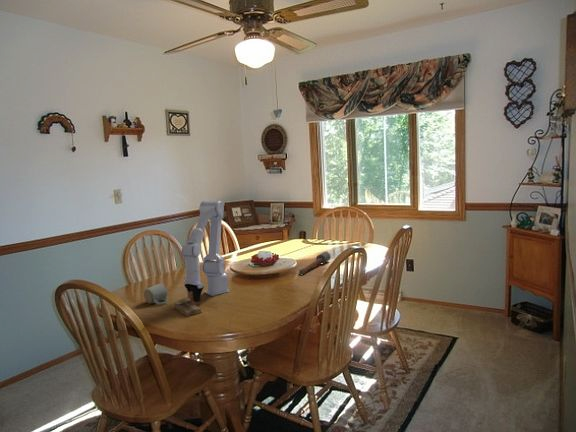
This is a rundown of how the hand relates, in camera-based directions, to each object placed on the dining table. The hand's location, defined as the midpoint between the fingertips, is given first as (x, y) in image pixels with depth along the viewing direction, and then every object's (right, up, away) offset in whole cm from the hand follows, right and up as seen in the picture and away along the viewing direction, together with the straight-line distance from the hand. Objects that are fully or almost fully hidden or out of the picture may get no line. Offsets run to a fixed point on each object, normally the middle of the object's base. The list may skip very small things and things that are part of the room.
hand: (195, 300), depth 192 cm
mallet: (+56, +8, +52) cm, 77 cm away
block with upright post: (-3, -2, -2) cm, 4 cm away
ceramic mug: (-18, -2, +6) cm, 19 cm away
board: (-2, -3, -6) cm, 7 cm away
